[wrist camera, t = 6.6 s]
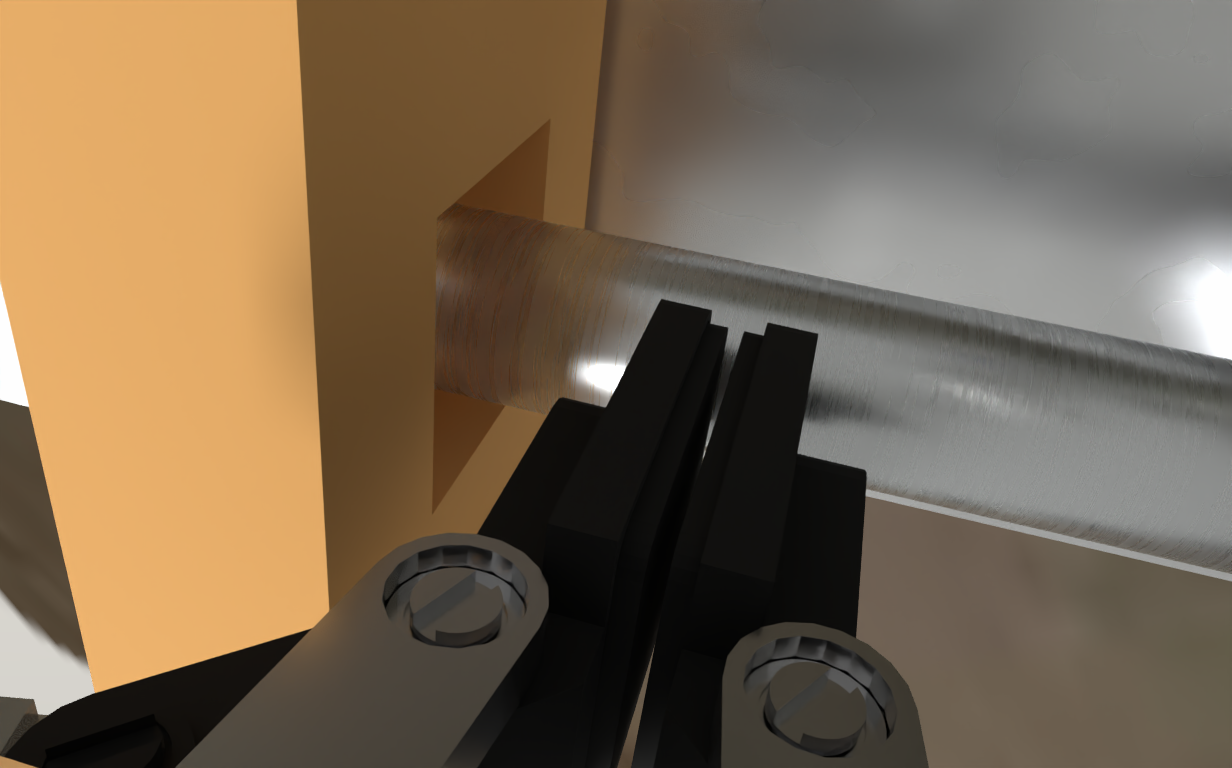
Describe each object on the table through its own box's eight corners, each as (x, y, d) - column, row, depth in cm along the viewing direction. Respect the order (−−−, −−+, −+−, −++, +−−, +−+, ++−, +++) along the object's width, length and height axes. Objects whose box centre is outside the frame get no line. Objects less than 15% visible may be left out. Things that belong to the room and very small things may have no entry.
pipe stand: (1658, -9, 14) (2354, 166, 7) (1315, 553, 19) (1533, 956, 12) (251, -205, 17) (-167, -210, 10) (288, 320, 22) (23, 540, 16)
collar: (616, -104, 14) (296, -4, 7) (565, 418, 19) (340, 821, 12) (421, -132, 15) (-81, -70, 7) (417, 384, 20) (108, 749, 12)
